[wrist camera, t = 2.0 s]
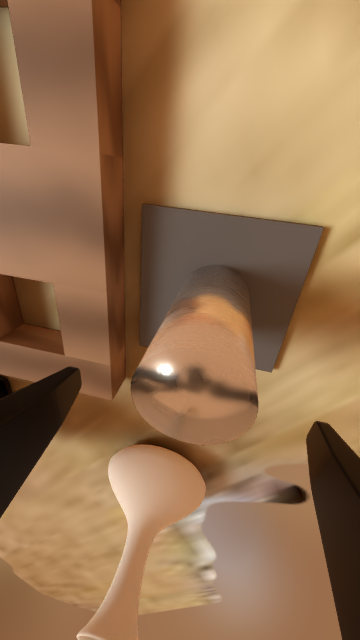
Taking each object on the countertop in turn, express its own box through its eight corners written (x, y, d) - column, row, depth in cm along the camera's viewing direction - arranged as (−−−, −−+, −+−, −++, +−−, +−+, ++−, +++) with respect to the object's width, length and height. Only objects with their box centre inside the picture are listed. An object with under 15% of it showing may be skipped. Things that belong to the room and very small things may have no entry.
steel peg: (240, 332, 19) (242, 456, 10) (178, 320, 20) (130, 428, 11) (256, 270, 17) (275, 365, 8) (184, 259, 17) (130, 336, 9)
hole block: (125, 377, 24) (112, 400, 22) (-3, 348, 26) (-29, 367, 24) (118, -128, 11) (79, -229, 8) (-151, -114, 12) (-255, -193, 10)
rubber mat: (270, 368, 20) (271, 372, 20) (141, 342, 22) (139, 345, 21) (321, 226, 15) (323, 227, 15) (145, 203, 16) (142, 204, 16)
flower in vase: (112, 476, 33) (-117, 1004, 12) (118, 421, 28) (-299, 1246, 6) (207, 508, 32) (145, 1149, 11) (234, 458, 27) (215, 1599, 5)
